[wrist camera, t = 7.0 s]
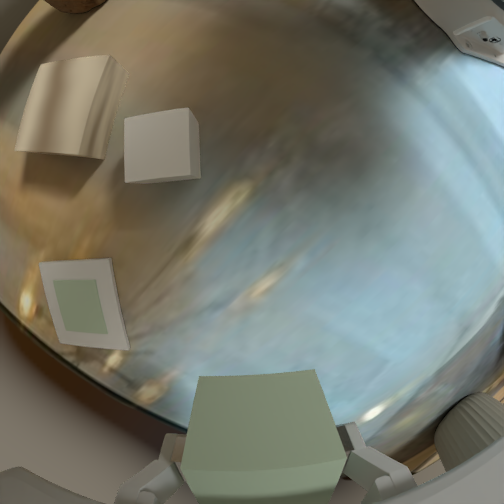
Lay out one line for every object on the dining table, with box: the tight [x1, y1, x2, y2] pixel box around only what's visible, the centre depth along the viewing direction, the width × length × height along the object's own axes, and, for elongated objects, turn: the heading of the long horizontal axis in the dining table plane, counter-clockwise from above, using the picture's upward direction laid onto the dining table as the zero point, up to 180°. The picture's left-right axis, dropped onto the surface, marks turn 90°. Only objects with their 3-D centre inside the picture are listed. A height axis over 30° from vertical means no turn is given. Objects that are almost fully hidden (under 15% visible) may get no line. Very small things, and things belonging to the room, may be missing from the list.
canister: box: [434, 392, 504, 472], centre depth 22 cm, size 18×18×21 cm
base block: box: [14, 55, 129, 160], centre depth 18 cm, size 9×9×5 cm
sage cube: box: [180, 369, 347, 504], centre depth 9 cm, size 5×5×5 cm
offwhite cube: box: [124, 107, 201, 184], centre depth 20 cm, size 5×5×5 cm
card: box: [39, 258, 130, 350], centre depth 24 cm, size 10×10×1 cm
